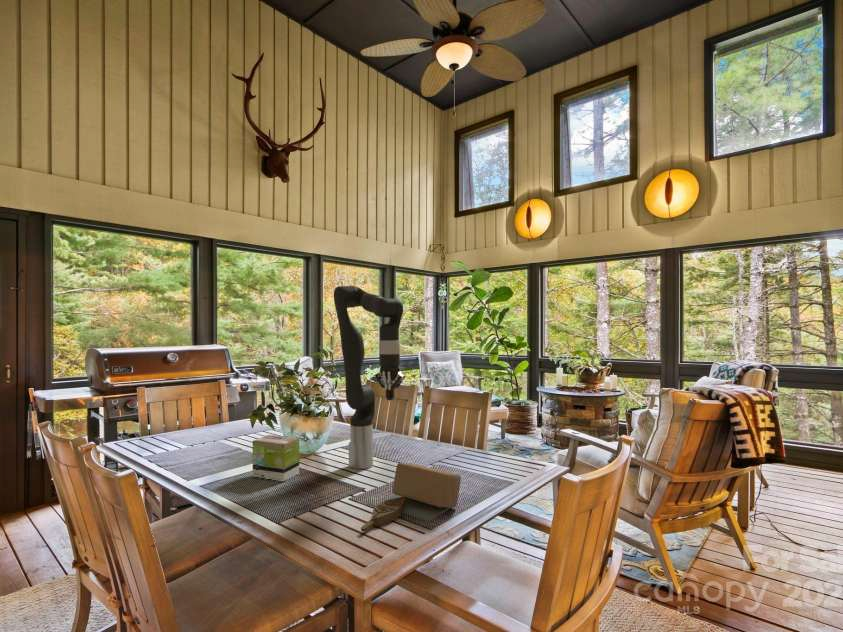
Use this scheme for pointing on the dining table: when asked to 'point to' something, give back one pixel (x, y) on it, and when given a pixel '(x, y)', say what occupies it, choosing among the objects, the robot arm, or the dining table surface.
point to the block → (427, 485)
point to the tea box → (276, 457)
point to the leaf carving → (386, 512)
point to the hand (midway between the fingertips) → (390, 399)
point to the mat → (421, 509)
